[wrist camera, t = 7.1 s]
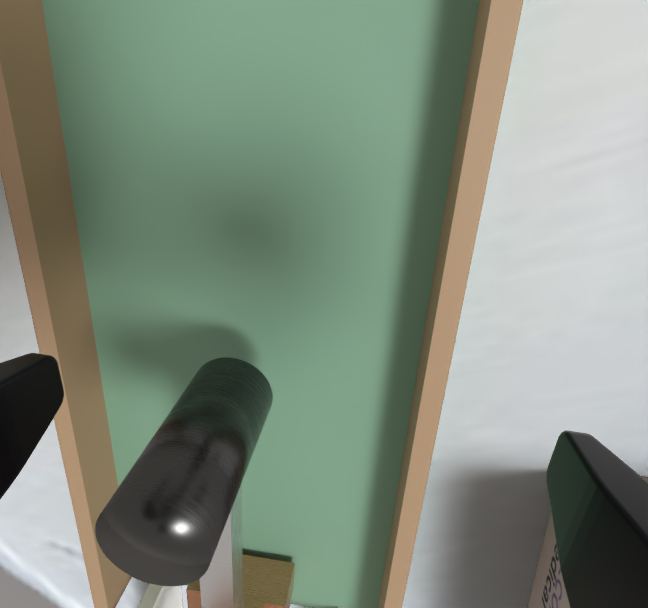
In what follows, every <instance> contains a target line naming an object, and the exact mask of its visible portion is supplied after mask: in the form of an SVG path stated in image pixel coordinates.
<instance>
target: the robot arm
mask: <svg viewBox="0 0 648 608" xmlns="http://www.w3.org/2000/svg"><path fill="white" fill-rule="evenodd" d="M63 398H64V389H63V384H62V380H61V375H60V371H59V366H58V362H57V360H56V359H55V358H54V357H53V356H51V355H44V354H37V353H30V354H26V355H23V356H20V357H17V358H14V359H11V360H8V361H5V362H2V363H0V499H1V498H2V496H3V495H4V494H5V492H6V491H7V490H8V488H9V487H10V486H11V484H12V483H13V481H14V480H15V479H16V477H17V476H18V474H19V473H20V471H21V470H22V468H23V467H24V465H25V464H26V462H27V460H28V459H29V457H30V455H31V454H32V452H33V450H34V449H35V447H36V446H37V444H38V442H39V441H40V439H41V437H42V436H43V434H44V433H45V431H46V429H47V428H48V426H49V424H50V423H51V421H52V420H53V418H54V416H55V415H56V413H57V411H58V410H59V408H60V406H61V404H62V402H63ZM547 485H548V491H549V498H550V505H551V511H552V518H553V525H554V532H555V538H556V545H557V552H558V558H559V563H560V569H561V574H562V578H563V582H564V586H565V590H566V594H567V597H568V601H569V605H570V608H648V482H647V481H646V480H645V479H643V478H642V477H641V476H640V475H639V474H637V473H636V472H635V471H634V470H632V469H631V468H630V467H629V466H628V465H626V464H625V463H624V462H623V461H622V460H620V459H619V458H618V457H617V456H616V455H614V454H613V453H612V452H611V451H610V450H608V449H607V448H606V447H605V446H604V445H602V444H601V443H600V442H599V441H598V440H596V439H595V438H594V437H593V436H591V435H589V434H587V433H580V432H573V431H564V432H562V433H561V434H560V436H559V438H558V440H557V443H556V446H555V449H554V451H553V454H552V457H551V460H550V463H549V465H548V469H547Z"/></svg>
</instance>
